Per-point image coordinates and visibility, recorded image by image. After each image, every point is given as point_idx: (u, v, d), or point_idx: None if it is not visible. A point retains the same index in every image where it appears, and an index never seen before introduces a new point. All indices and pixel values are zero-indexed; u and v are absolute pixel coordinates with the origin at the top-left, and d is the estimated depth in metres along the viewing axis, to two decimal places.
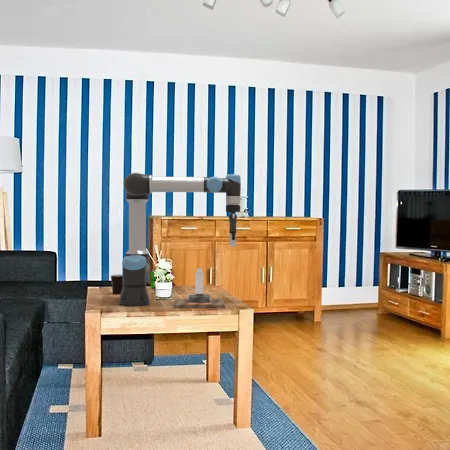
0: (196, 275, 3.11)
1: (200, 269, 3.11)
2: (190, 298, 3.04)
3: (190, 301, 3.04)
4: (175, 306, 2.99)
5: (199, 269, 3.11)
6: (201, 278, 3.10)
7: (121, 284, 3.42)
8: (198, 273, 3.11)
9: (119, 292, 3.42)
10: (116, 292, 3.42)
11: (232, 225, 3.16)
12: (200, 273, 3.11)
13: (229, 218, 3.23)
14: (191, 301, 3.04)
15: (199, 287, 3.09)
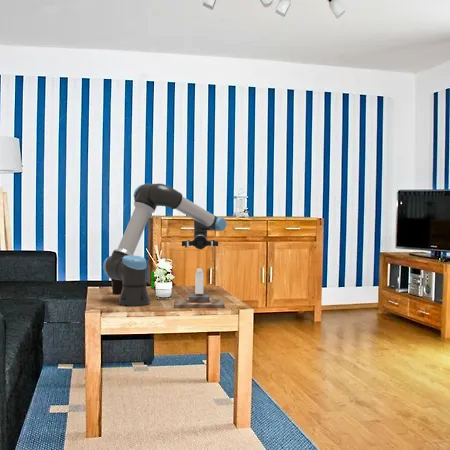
0: (196, 275, 3.11)
1: (200, 269, 3.11)
2: (190, 298, 3.04)
3: (190, 301, 3.04)
4: (175, 306, 2.99)
5: (199, 269, 3.11)
6: (201, 278, 3.10)
7: (121, 284, 3.42)
8: (198, 273, 3.11)
9: (119, 292, 3.42)
10: (116, 292, 3.42)
11: None
12: (200, 273, 3.11)
13: (203, 239, 3.42)
14: (191, 301, 3.04)
15: (199, 287, 3.09)
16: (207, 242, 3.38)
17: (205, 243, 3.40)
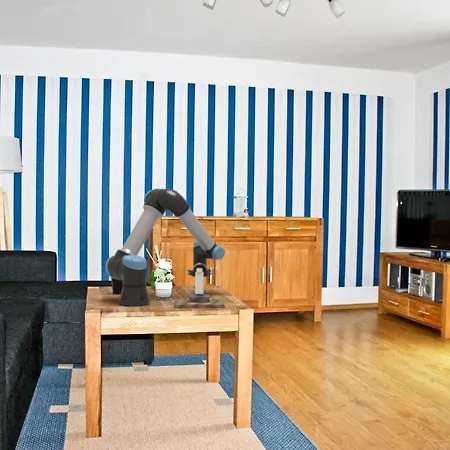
0: (196, 275, 3.11)
1: (200, 269, 3.11)
2: (190, 298, 3.04)
3: (190, 301, 3.04)
4: (175, 306, 2.99)
5: (199, 269, 3.11)
6: (201, 278, 3.10)
7: (121, 284, 3.42)
8: (198, 273, 3.11)
9: (119, 292, 3.42)
10: (116, 292, 3.42)
11: (208, 272, 3.31)
12: (200, 273, 3.11)
13: (202, 268, 3.37)
14: (191, 301, 3.04)
15: (199, 287, 3.09)
16: None
17: None
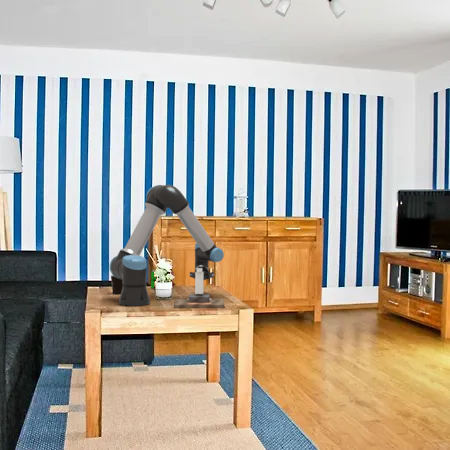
0: (196, 275, 3.11)
1: (200, 269, 3.11)
2: (190, 298, 3.04)
3: (190, 301, 3.04)
4: (175, 306, 2.99)
5: (199, 269, 3.11)
6: (201, 278, 3.10)
7: (121, 284, 3.42)
8: (198, 273, 3.11)
9: (119, 292, 3.42)
10: (116, 292, 3.42)
11: (210, 274, 3.23)
12: (200, 273, 3.11)
13: (204, 271, 3.29)
14: (191, 301, 3.04)
15: (199, 287, 3.09)
16: None
17: None
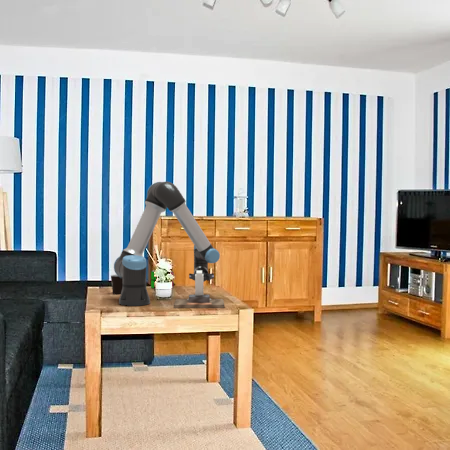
0: (196, 279, 3.03)
1: (200, 274, 3.01)
2: (190, 298, 3.04)
3: (190, 301, 3.04)
4: (175, 306, 2.99)
5: (199, 274, 3.01)
6: (201, 281, 3.04)
7: (121, 284, 3.42)
8: (198, 277, 3.03)
9: (119, 292, 3.42)
10: (116, 292, 3.42)
11: (210, 276, 3.17)
12: (200, 277, 3.03)
13: (203, 272, 3.22)
14: (191, 301, 3.04)
15: (199, 289, 3.06)
16: None
17: None
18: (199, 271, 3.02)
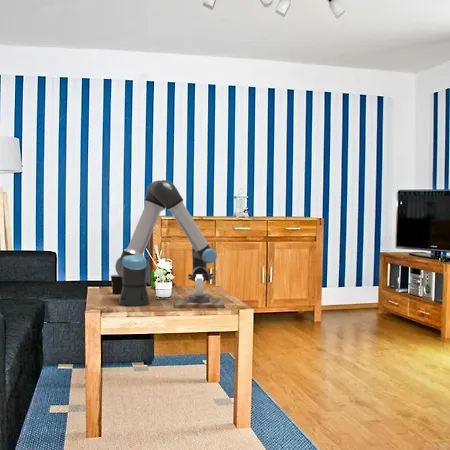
0: (196, 283, 3.01)
1: (200, 279, 2.99)
2: (190, 298, 3.04)
3: (190, 301, 3.04)
4: (175, 306, 2.99)
5: (199, 279, 2.99)
6: (201, 285, 3.02)
7: (121, 284, 3.42)
8: (198, 281, 3.00)
9: (119, 292, 3.42)
10: (116, 292, 3.42)
11: (209, 276, 3.15)
12: (200, 281, 3.00)
13: (203, 272, 3.20)
14: (191, 301, 3.04)
15: (199, 291, 3.05)
16: None
17: None
18: (199, 275, 3.00)
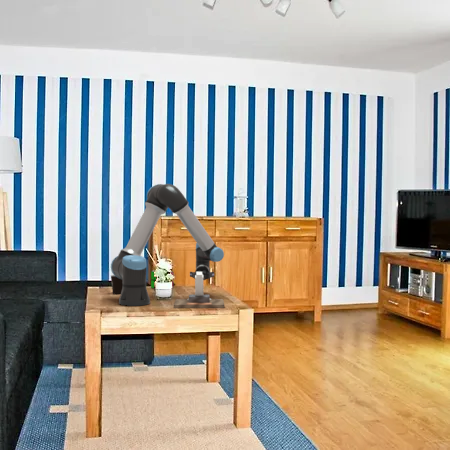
0: (196, 280, 3.02)
1: (200, 275, 3.00)
2: (190, 298, 3.04)
3: (190, 301, 3.04)
4: (175, 306, 2.99)
5: (199, 275, 3.00)
6: (201, 282, 3.03)
7: (121, 284, 3.42)
8: (198, 278, 3.02)
9: (119, 292, 3.42)
10: (116, 292, 3.42)
11: (210, 274, 3.22)
12: (200, 278, 3.02)
13: (204, 270, 3.27)
14: (191, 301, 3.04)
15: (199, 290, 3.05)
16: None
17: None
18: (199, 272, 3.01)
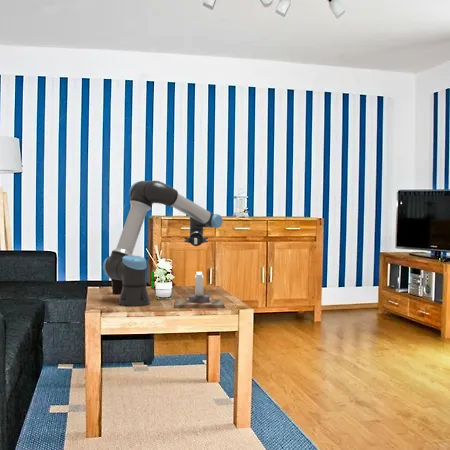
0: (196, 280, 3.02)
1: (200, 275, 3.00)
2: (190, 298, 3.04)
3: (190, 301, 3.04)
4: (175, 306, 2.99)
5: (199, 275, 3.00)
6: (201, 282, 3.03)
7: (121, 284, 3.42)
8: (198, 278, 3.02)
9: (119, 292, 3.42)
10: (116, 292, 3.42)
11: (204, 239, 3.34)
12: (200, 278, 3.02)
13: (198, 236, 3.40)
14: (191, 301, 3.04)
15: (199, 290, 3.05)
16: None
17: None
18: (199, 272, 3.01)
